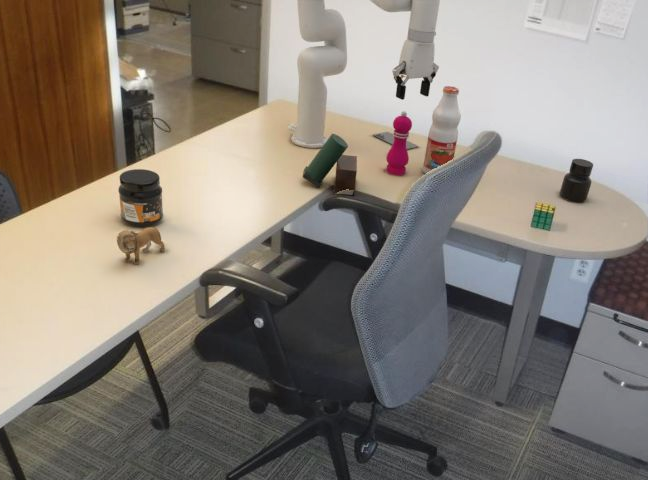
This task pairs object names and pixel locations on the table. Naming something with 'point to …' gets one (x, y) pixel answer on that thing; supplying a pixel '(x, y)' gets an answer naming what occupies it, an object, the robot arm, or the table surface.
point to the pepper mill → (399, 146)
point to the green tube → (325, 160)
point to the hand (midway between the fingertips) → (412, 96)
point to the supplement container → (140, 198)
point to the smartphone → (392, 139)
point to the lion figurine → (138, 242)
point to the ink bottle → (577, 181)
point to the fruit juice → (443, 131)
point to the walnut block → (345, 173)
